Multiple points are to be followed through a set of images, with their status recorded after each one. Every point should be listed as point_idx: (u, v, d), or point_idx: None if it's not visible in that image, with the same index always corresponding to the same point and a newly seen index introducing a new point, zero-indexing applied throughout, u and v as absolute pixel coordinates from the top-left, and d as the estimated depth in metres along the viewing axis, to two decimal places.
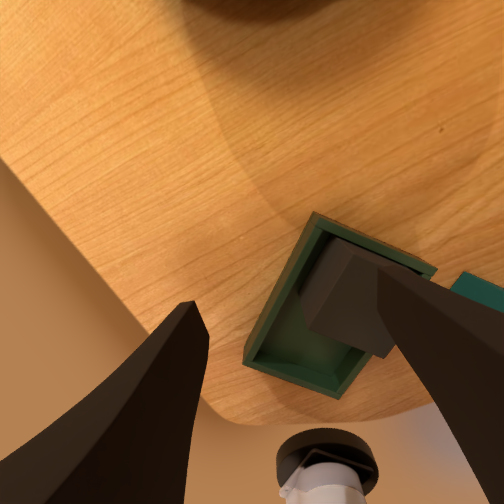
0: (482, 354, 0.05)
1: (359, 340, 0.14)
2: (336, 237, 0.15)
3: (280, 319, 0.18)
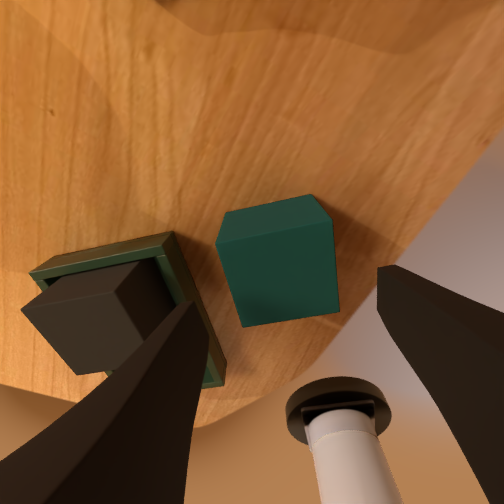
0: (481, 354, 0.05)
1: (120, 362, 0.13)
2: (64, 275, 0.14)
3: None
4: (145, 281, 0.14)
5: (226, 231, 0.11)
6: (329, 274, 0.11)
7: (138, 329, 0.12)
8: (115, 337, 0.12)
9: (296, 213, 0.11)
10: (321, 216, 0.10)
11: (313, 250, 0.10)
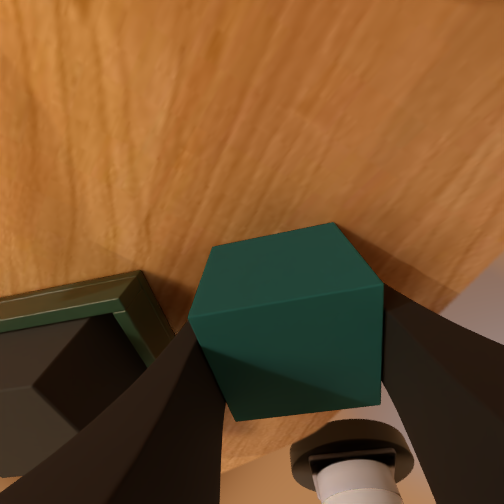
0: (424, 363, 0.05)
1: None
2: None
3: None
4: (99, 346, 0.10)
5: (208, 288, 0.07)
6: (370, 359, 0.07)
7: (79, 429, 0.08)
8: (47, 439, 0.08)
9: (317, 259, 0.07)
10: (362, 273, 0.06)
11: (348, 327, 0.06)
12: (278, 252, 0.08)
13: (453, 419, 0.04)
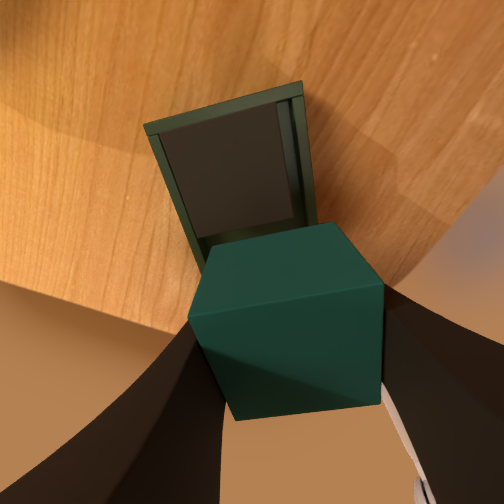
0: (423, 363, 0.05)
1: (252, 216, 0.12)
2: None
3: None
4: None
5: (208, 287, 0.07)
6: (370, 358, 0.07)
7: (285, 164, 0.11)
8: (257, 177, 0.11)
9: (317, 258, 0.07)
10: (362, 272, 0.06)
11: (348, 326, 0.06)
12: (278, 251, 0.08)
13: (453, 419, 0.04)
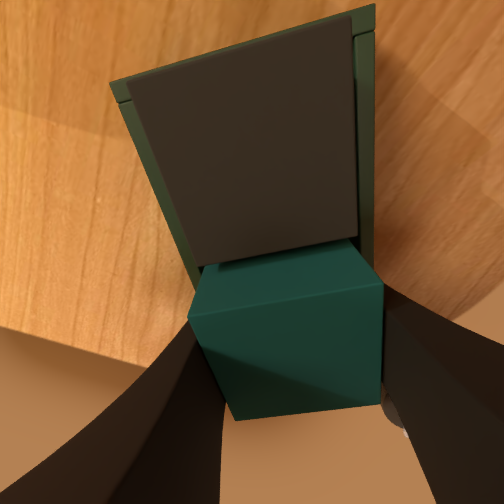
0: (423, 363, 0.05)
1: (288, 232, 0.07)
2: None
3: None
4: None
5: (208, 287, 0.07)
6: (370, 358, 0.07)
7: None
8: (303, 166, 0.06)
9: (317, 258, 0.07)
10: (362, 272, 0.06)
11: (348, 326, 0.06)
12: None
13: (453, 419, 0.04)
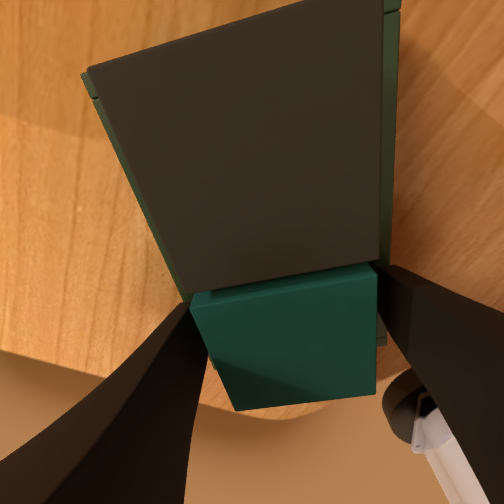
0: (482, 355, 0.05)
1: (295, 255, 0.06)
2: None
3: None
4: None
5: None
6: (365, 349, 0.07)
7: (381, 148, 0.05)
8: (315, 176, 0.05)
9: None
10: (356, 265, 0.07)
11: (343, 317, 0.07)
12: None
13: None
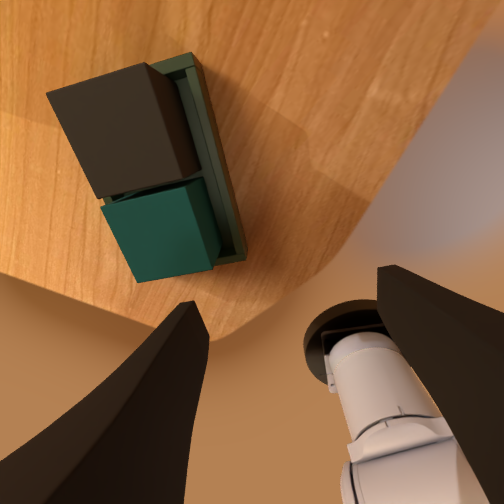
0: (482, 355, 0.05)
1: (143, 176, 0.12)
2: None
3: None
4: (172, 99, 0.13)
5: (117, 200, 0.14)
6: (195, 234, 0.14)
7: (166, 124, 0.11)
8: (141, 136, 0.12)
9: (173, 186, 0.14)
10: (182, 186, 0.13)
11: (177, 213, 0.13)
12: (162, 188, 0.15)
13: None
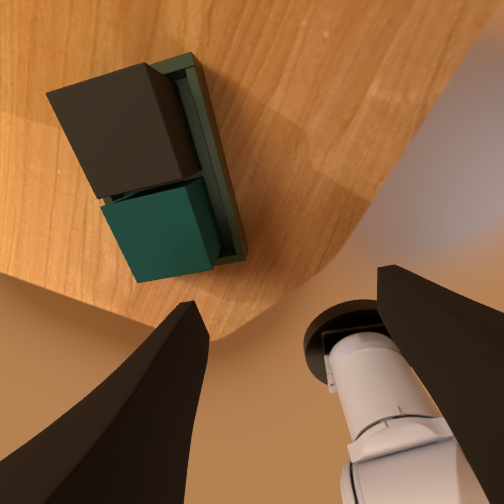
0: (482, 355, 0.05)
1: (143, 176, 0.12)
2: None
3: None
4: (172, 99, 0.13)
5: (117, 200, 0.14)
6: (195, 234, 0.14)
7: (166, 124, 0.11)
8: (141, 136, 0.12)
9: (173, 186, 0.14)
10: (182, 186, 0.13)
11: (177, 213, 0.13)
12: (162, 188, 0.15)
13: None
